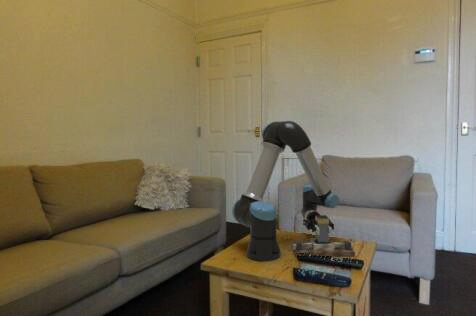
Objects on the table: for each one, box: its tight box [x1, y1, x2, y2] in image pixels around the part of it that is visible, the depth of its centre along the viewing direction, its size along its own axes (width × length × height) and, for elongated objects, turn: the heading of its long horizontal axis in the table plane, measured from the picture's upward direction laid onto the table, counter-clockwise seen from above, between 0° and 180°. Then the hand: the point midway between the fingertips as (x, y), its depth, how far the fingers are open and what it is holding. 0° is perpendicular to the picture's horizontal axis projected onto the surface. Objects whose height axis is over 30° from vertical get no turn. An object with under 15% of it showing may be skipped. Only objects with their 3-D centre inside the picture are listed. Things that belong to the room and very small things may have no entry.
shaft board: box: [291, 237, 356, 258], centre depth 155 cm, size 27×12×5 cm, turn 89°
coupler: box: [315, 214, 330, 244], centre depth 155 cm, size 5×5×13 cm
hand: (324, 231), depth 149 cm, fingers closed on coupler, 5 cm apart
